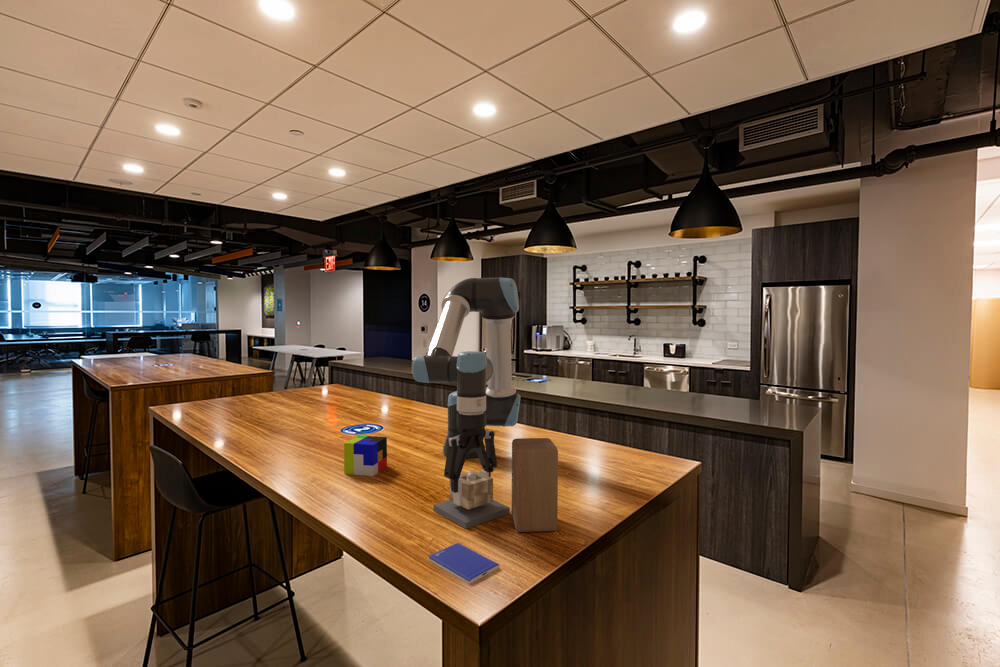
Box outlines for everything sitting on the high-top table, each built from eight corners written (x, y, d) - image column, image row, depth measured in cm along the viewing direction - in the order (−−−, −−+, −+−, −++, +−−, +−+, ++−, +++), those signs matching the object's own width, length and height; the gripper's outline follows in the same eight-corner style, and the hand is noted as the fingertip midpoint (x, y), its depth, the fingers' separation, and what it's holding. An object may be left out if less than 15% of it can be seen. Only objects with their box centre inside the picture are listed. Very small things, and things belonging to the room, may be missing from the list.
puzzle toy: (373, 476, 149) (372, 444, 149) (344, 474, 151) (343, 443, 151) (386, 466, 159) (386, 437, 158) (359, 464, 161) (359, 435, 160)
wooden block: (511, 515, 119) (511, 437, 119) (550, 514, 120) (550, 436, 120) (515, 534, 109) (516, 448, 109) (558, 532, 110) (558, 447, 110)
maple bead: (474, 492, 127) (474, 470, 127) (493, 501, 121) (493, 478, 121) (449, 499, 122) (449, 477, 122) (468, 509, 116) (468, 485, 116)
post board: (476, 497, 132) (476, 461, 131) (509, 513, 121) (509, 473, 121) (433, 510, 122) (433, 471, 122) (465, 529, 112) (465, 486, 111)
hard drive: (428, 555, 97) (469, 579, 89) (458, 541, 103) (499, 562, 95) (428, 563, 97) (469, 587, 89) (458, 548, 103) (499, 570, 95)
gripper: (446, 420, 111) (445, 515, 112) (511, 409, 125) (511, 494, 125) (428, 415, 117) (428, 505, 118) (493, 405, 130) (492, 486, 131)
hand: (471, 499), depth 121 cm, fingers closed on maple bead, 8 cm apart
